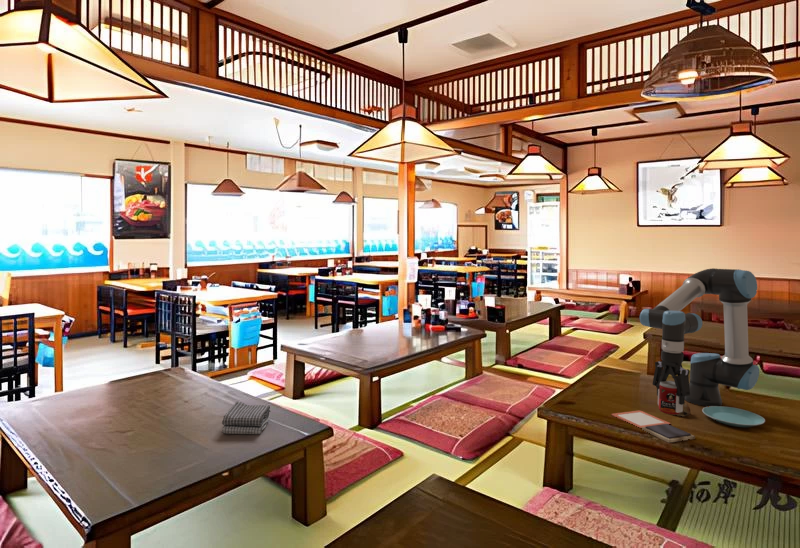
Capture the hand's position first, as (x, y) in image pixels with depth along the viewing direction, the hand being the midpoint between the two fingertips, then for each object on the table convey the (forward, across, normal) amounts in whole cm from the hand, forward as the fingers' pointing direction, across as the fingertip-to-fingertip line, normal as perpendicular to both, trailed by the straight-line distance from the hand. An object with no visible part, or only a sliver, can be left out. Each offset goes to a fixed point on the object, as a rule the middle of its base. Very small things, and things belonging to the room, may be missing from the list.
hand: (669, 408), depth 191 cm
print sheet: (+10, -15, +1) cm, 19 cm away
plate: (+12, -3, +39) cm, 41 cm away
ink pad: (+10, 0, -1) cm, 10 cm away
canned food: (+1, 0, 0) cm, 1 cm away
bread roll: (+11, -18, +24) cm, 32 cm away
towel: (+7, -54, -156) cm, 166 cm away
